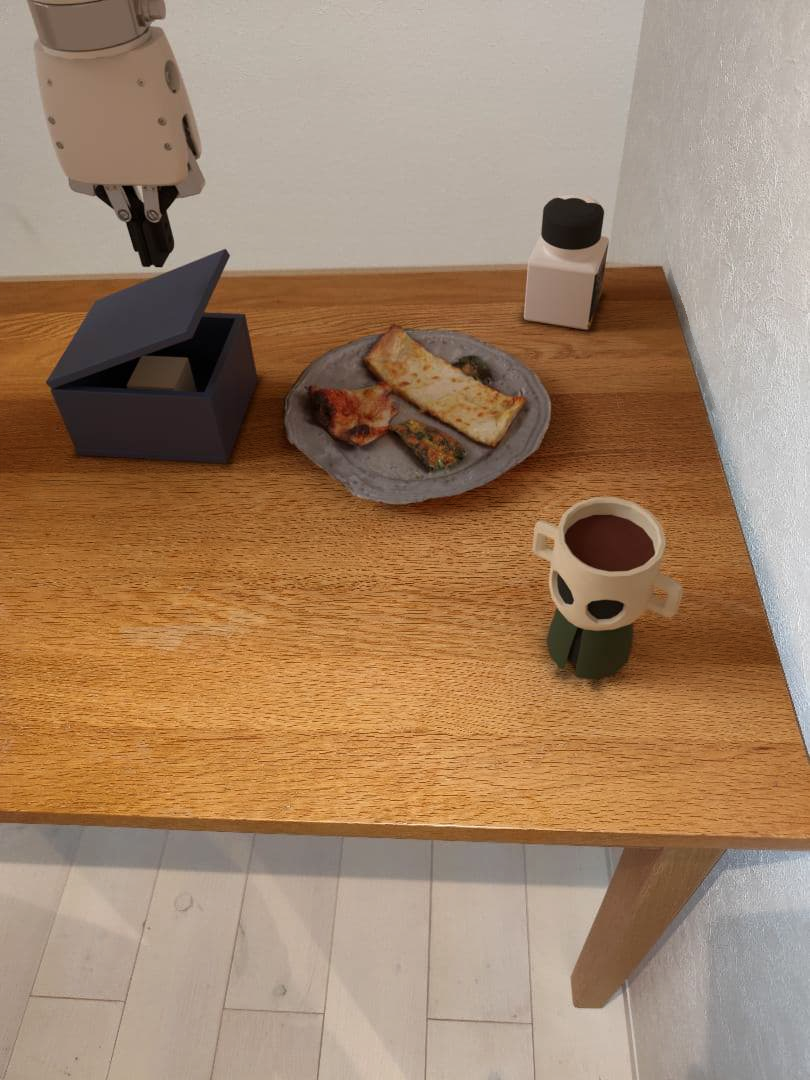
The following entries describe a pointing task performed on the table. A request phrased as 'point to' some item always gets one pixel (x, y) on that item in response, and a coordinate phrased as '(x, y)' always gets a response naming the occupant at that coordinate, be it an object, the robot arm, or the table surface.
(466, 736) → the table surface
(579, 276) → the medicine bottle
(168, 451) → the case
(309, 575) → the table surface
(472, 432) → the food plate
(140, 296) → the lid
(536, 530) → the character mug
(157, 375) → the cube block
